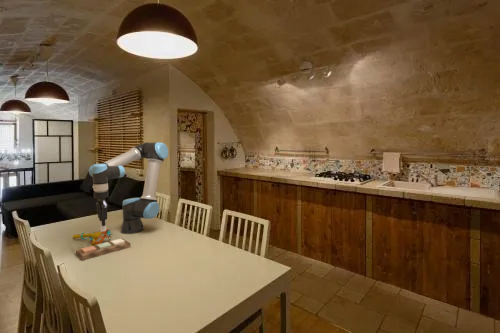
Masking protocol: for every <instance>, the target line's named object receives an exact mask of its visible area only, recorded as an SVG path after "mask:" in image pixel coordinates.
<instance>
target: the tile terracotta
mask: <svg viewBox="0 0 500 333" xmlns="http://www.w3.org/2000/svg"><path fill="white" fill-rule="evenodd" d="M80 249H81V251H82V252H83V253H84V254H85V253H89V252H92V251H96V248H95V247H94V246H91V245H90V246H86V247H82V248H80Z"/></svg>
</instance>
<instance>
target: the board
mask: <svg viewBox="0 0 500 333" xmlns="http://www.w3.org/2000/svg"><path fill="white" fill-rule="evenodd" d="M121 239H122V240H124V241H125V243H123V244H119V245H115V246H114V245H112V244H111V241H112V240H110V241H107V242H108V243H109V244H111V247H108V248H104V249H98V248H97V246H96V245H94V247H95V248H96V251H92V252H89V253H85V254H84V253H83V252H82V251H81V248H79V249H78V248H77V249H75V255H76V256H77V257H78V258H79V259H80V260H81V261H86V259H87V260H90V259H93V258H96V257H101V256H104V255H108V254H112V253H115V252H119V251H123V250H125V249H130V248H131V242H129V241H128V240H126V239H124V238H121Z"/></svg>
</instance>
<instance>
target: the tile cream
mask: <svg viewBox="0 0 500 333" xmlns="http://www.w3.org/2000/svg"><path fill="white" fill-rule="evenodd" d="M122 239H123V238H118V239H113V240H110V241H111V244H112V245H114V246H115V245H119V244H123V243H125V241H124V240H125V239H124V240H122Z"/></svg>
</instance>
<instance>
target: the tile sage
mask: <svg viewBox="0 0 500 333" xmlns="http://www.w3.org/2000/svg"><path fill="white" fill-rule="evenodd" d="M108 242H109V241H106V242H102V243H101V244H97V245H96V246H97V248H98V249H104V248H108V247H111V244H109V243H108Z"/></svg>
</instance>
